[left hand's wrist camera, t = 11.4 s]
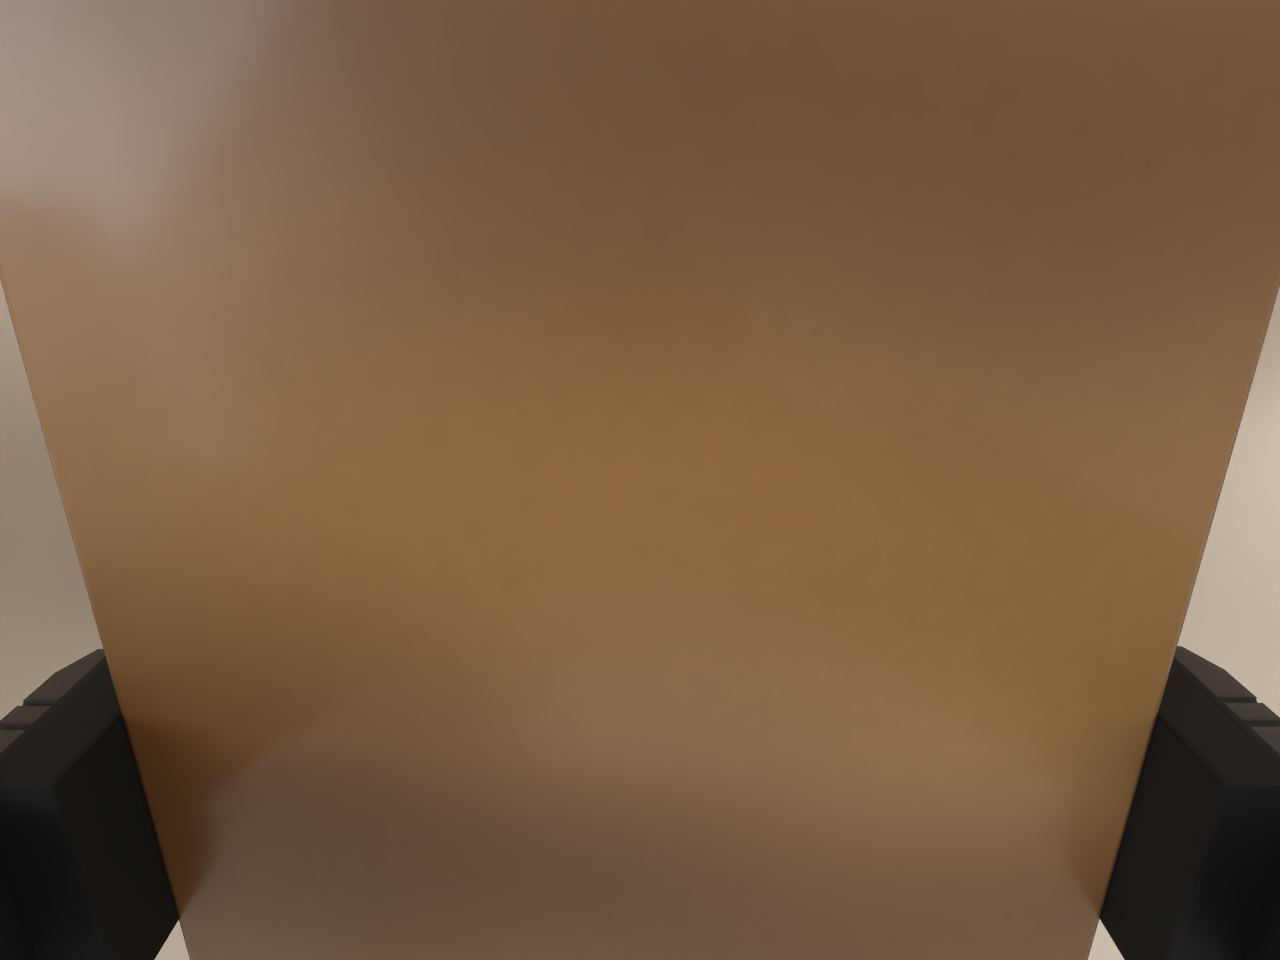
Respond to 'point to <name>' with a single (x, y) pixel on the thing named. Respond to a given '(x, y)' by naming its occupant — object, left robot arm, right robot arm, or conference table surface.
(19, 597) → the conference table surface
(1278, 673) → the conference table surface
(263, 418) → the long beam
